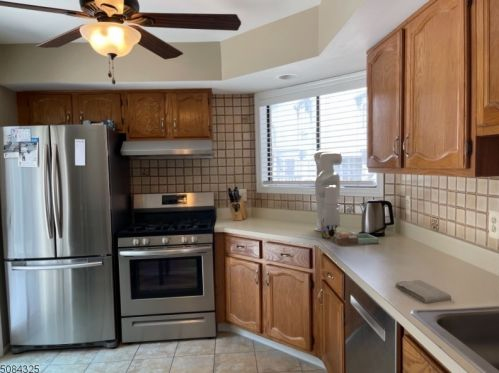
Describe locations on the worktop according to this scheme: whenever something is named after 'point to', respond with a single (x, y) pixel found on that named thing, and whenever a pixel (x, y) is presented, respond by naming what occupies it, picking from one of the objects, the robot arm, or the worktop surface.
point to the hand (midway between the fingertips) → (331, 236)
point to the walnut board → (344, 240)
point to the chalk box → (326, 231)
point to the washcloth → (422, 291)
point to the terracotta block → (344, 234)
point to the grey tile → (353, 234)
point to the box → (366, 239)
